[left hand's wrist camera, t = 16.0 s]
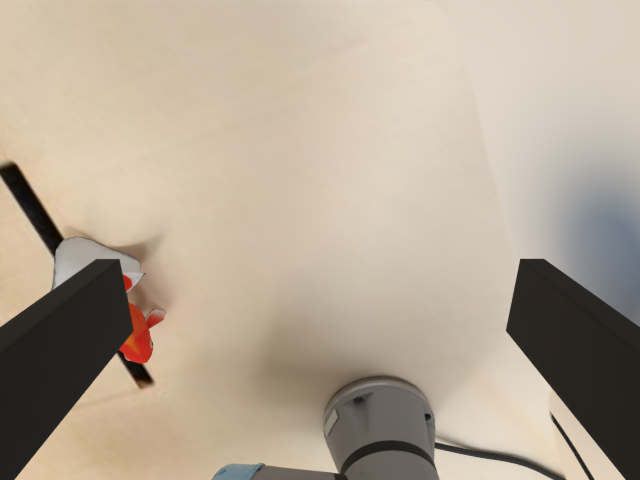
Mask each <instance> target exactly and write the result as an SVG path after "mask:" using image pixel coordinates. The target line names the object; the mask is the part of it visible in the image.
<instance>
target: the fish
mask: <svg viewBox="0 0 640 480" xmlns="http://www.w3.org/2000/svg"><path fill="white" fill-rule="evenodd" d="M95 259H120V263H121V268H122V273H123V278H124V283H125V288H126V293H127V294H128V293H129V291H130V290H131V289H132V288H133V287H134V286H135V285H136V284H137V283H138V282H139V280H140V279H141V278H142V276H143V275H145V274H146V273H141V269H140V261H139V260H137V259H136V258H134V257H132V256H131V255H129V254H126V253H123V252H120V251H116V250H113V249H110V248H107V247H105V246H103V245H101V244H99V243H97V242H94V241H92V240H89V239H85V238H82V237H72V238H68V239H64V240H63V241H62V242H61V243H60V245H59V246H58V248H57V250H56V253H55V258H54V278H53V284H52V289H51V291H52V290H53V289H55V288H56V287H57V286H59V285H60V284H62V283H63V282H64V281H66V280H67V279H69V278H70V277H71V276H73V275H74V274H76V273H77V272H78V271H80V270H81V269H83V268H84V267H86V266H87V265H88V264H90V263H91V262H93V261H94V260H95ZM129 308H130V313H131V318H132V323H133V328H134V331H133V333H132V334H131V335H130V336H129V338H128V339H127V340H126V341H125V343H124V344H123V345H122V346H121V348H120V349H119V350H120V351H122V352H123V353H124V355H125V358H126V359H127V360H129V361H134V362H137V363H146V362H147V361H148V360H149V359H150V357H151V355H152V351H153V342H152V340H151V337H150V332H149V330H148V329H150V328H151V327H153V326H154V325H156V324H158V323H159V322H161V321H162V320H163V319H164V315H165V314H166V313H165V312H164V311H162V310H158V309H153V310H152V311H151V312H150V313H149V314H148V315H147V317H146V318H145V317H144V315H143V313H142V312H141V310H140V309H139V308H137V307H136V306H135V305H133V304H131V303H129Z"/></svg>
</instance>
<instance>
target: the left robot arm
mask: <svg viewBox="0 0 640 480" xmlns="http://www.w3.org/2000/svg"><path fill="white" fill-rule="evenodd" d="M133 331H134V328H133V323H132V318H131V313H130V308H129V303H128V298H127V293H126V288H125V283H124V278H123V273H122V268H121V263H120V259H95V260H94V261H93V262H91V263H90V264H88V265H87V266H86V267H84V268H83V269H81V270H80V271H78V272H77V273H76V274H74V275H73V276H71V277H70V278H69V279H67V280H66V281H64V282H63V283H62V284H60V285H59V286H57V287H56V288H55V289H53V290H52V291H50V292H49V293H48V294H46V295H45V296H43V297H42V298H41V299H39V300H38V301H36V302H35V303H34V304H32V305H31V306H29V307H28V308H27V309H25V310H24V311H22V312H21V313H20V314H18V315H17V316H15V317H14V318H12V319H11V320H10V321H8V322H7V323H5V324H4V325H3V326H1V327H0V480H14V479H15V478H16V477H17V476H18V474H19V473H20V472H21V471H22V469H23V468H24V467H25V466H26V464H27V463H28V462H29V461H30V460H31V458H32V457H33V456H34V455H35V453H36V452H37V451H38V450H39V448H40V447H41V446H42V445H43V443H44V442H45V441H46V440H47V438H48V437H49V436H50V435H51V433H52V432H53V431H54V430H55V428H56V427H57V426H58V425H59V423H60V422H61V421H62V420H63V418H64V417H65V416H66V415H67V414H68V412H69V411H70V410H71V409H72V407H73V406H74V405H75V404H76V402H77V401H78V400H79V399H80V397H81V396H82V395H83V394H84V392H85V391H86V390H87V389H88V387H89V386H90V385H91V384H92V382H93V381H94V380H95V379H96V377H97V376H98V375H99V374H100V372H101V371H102V370H103V369H104V367H105V366H106V365H107V364H108V363H109V361H110V360H111V359H112V358H113V356H114V355H115V354H116V353H117V351H118V350H119V349H120V348H121V346H122V345H123V344H124V343H125V341H126V340H127V339H128V338H129V336H130V335H131V334H132V333H133ZM506 331H507V333H508V334H509V335H510V336H511V338H512V339H513V340H514V341H515V343H516V344H517V345H518V346H519V348H520V349H521V350H522V351H523V353H524V354H525V355H526V356H527V358H528V359H529V360H530V361H531V363H532V364H533V365H534V366H535V367H536V369H537V370H538V371H539V372H540V374H541V375H542V376H543V377H544V379H545V380H546V381H547V382H548V384H549V385H550V386H551V387H552V389H553V390H554V391H555V392H556V394H557V395H558V396H559V397H560V399H561V400H562V401H563V402H564V404H565V405H566V406H567V407H568V409H569V410H570V411H571V412H572V414H573V415H574V416H575V417H576V418H577V420H578V421H579V422H580V423H581V425H582V426H583V427H584V428H585V430H586V431H587V432H588V433H589V435H590V436H591V437H592V438H593V440H594V441H595V442H596V443H597V445H598V446H599V447H600V448H601V450H602V451H603V452H604V453H605V455H606V456H607V457H608V458H609V460H610V461H611V462H612V463H613V464H614V466H615V467H616V468H617V469H618V471H619V472H620V473H621V474H622V476H623V477H624V478H625V479H626V480H640V327H639V326H637V325H636V324H634V323H633V322H632V321H630V320H629V319H627V318H626V317H625V316H623V315H622V314H620V313H619V312H618V311H616V310H615V309H613V308H612V307H611V306H609V305H608V304H606V303H605V302H604V301H602V300H601V299H599V298H598V297H597V296H595V295H594V294H592V293H591V292H590V291H588V290H587V289H585V288H584V287H583V286H581V285H580V284H578V283H577V282H576V281H574V280H573V279H571V278H570V277H569V276H567V275H566V274H564V273H563V272H562V271H560V270H559V269H557V268H556V267H554V266H553V265H552V264H550V263H549V262H547V261H546V260H545V259H520V263H519V268H518V273H517V278H516V283H515V288H514V293H513V298H512V303H511V308H510V313H509V318H508V323H507V328H506ZM550 415H551V420H552V421H553V423H554V424H555V425H556V427H557V428H558V430H559V431H560V433H561V434H562V436H563V437H564V439H565V441H566V442H567V444H568V445H569V447H570V448H571V450H572V452H573V453H574V455H575V456H576V458H577V460H578V462H579V463H580V465H581V467H582V468H583V470H584V472H585V474H586V475H587V477H588V479H589V480H595V479H594V478H593V476H592V474H591V473H590V471H589V470H588V468H587V466H586V465H585V463H584V461H583V460H582V458H581V456H580V455H579V453H578V451H577V450H576V448H575V447H574V445H573V444H572V442H571V441H570V439H569V437H568V436H567V435H566V433H565V431H564V430H563V429H562V427H561V426H560V424H559V423H558V421H557V420H556V418H555V417H554V416H553V414H552V413H551V411H550ZM324 435H325V439H326V443H327V446H328V448H329V450H330V453H331V455H332V458H333V460H334V463H335V465H336V468H337V470H338V473H339V474H336V473H330V472H320V471H310V470H301V469H291V468H282V467H274V466H266V465H265V464H263V463H259V464H257V465H249V464H229V465H226V466H224V467H223V468H221V469H220V470H219V471H218V472H217V473H216V474H215V476H214V477H213V478H212V480H439V476H438V474H437V471H436V467H435V464H434V448H436V449H441V450H445V451H450V452H454V453H459V454H464V455H469V456H474V457H480V458H486V459H493V460H499V461H505V462H510V463H515V464H518V465H522V466H525V467H528V468H530V469H533V470H535V471H537V472H540V473H542V474H543V475H545V476H547V477H549V478H551V479H553V480H566V479H563V478H561V477H559V476H557V475H554V474H552V473H550V472H549V471H547V470H545V469H543V468H541V467H539V466H537V465H534V464H532V463H530V462H527V461H524V460H521V459H517V458H514V457H509V456H504V455H498V454H491V453H485V452H478V451H473V450H468V449H463V448H458V447H454V446H449V445H445V444H440V443H436V442H435V420H434V416H433V413H432V410H431V407H430V404H429V402H428V400H427V399H426V397H425V396H424V394H423V393H422V392H421V391H420V390H419V389H417V388H416V387H415V386H413V385H411V384H409V383H407V382H405V381H403V380H399V379H396V378H390V377H371V378H365V379H362V380H358V381H356V382H353V383H351V384H349V385H347V386H345V387H344V388H342V389H341V390H340V391H339V392H337V393H336V394H335V395H334V396H333V398H332V399H331V400H330V402H329V404H328V405H327V408H326V410H325V414H324Z"/></svg>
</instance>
